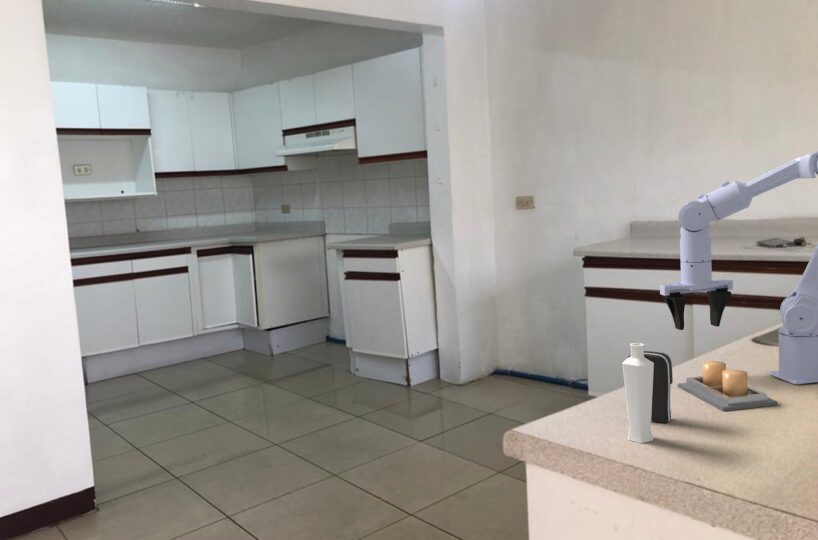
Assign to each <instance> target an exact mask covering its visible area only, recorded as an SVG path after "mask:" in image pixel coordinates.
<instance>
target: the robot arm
mask: <svg viewBox="0 0 818 540" xmlns="http://www.w3.org/2000/svg"><path fill="white" fill-rule="evenodd" d="M816 176H818V151H816V152H813V153H809V154H806V155H803V156H799V157H796V158H794V159H792V160H789V161H788V162H786V163H784V164H782V165H780V166H778V167H775V168H773V169H772V170H768V171H767V172H765V173H764V174H762V175H761V174H760V176H757V177H755V178H753V179H752V180H750V181H748V182H746V183H745V182H741V181H738V180H733V181H731V182H729V181H728V180H727V181H725V182H722V183H721V187H719V188H716V189H714V190H712V191H710V192H708V193H706V194H703V193H701V194H699V195H697V198H698V200H691V201H690V200H689V202H687V203H685V204H684V205H683V206H682V207H681V208H680V210H679V212H678V214H677V215H678V217H677V219H678V222H679V225H680V226H681V227H680V231H679V235H680V239H679V250H680V251H679V254H680V257H679V258H680V281H679V282H673V283H667V284H660V285H659V295H661V296H662V298H663V300H664V302H665V304H666V305H667V307H668V309H669V311H670V313H671V316H672V319H673V323H674V327H675V330H676V329H677V330H679V331H683V330H685V307H686V302H687V298H686V297H684V296H683V294H691V293H702V292H703V293H704V292H706V295H707V298H708V299H707V300H708V304H709V306H708V307H709V320H710V325H711V326H714V327H720V325H721V320H722V317H723V313H724V311H725V308H726V306H727V304H728V302H729V301H730V299H731V298H732V291H731V290H734V280H733V279H729V278H724V279H713V278H712V277H713V273H712V269H713V267H712V238H711V236H710V225H709V224H710V222H711V221H713V222H719V221H721V220H723V219H725V218H728V217H730V216H732V215H734V214H737V213H739V212H740V211H741V212H742V211H743V210H745V209H747V208H749V207H750V206H751V203H752V200H753V198H754V197H757V196H759V195H762V194H763V193H764V194H765V193H767V192H768V191H770V190H773V189H776V188H777V187H780V186H782V185H785V184H787V183H789V182H791V181H794V180H797V179H798V180H799V179H816V178H817V177H816ZM779 312H780V315H781V321H782V326H780V327H779V328H778V330H777V331H778V370H771V371H768V375H770V376H773V377H776V378H778V379H781V380H783V381H786V382H788V383H790V384H793V385H804V384H814V383H818V243H817V244H816V247H815V249H814V251H813V253H812V255H811V256H810V258H809V260H808V263H807V266H806V267H805V270H804V272H803V274H802V276H801V278H800V279H799V281H798V283H797V284H796V286H795V287H794V290H793V291H792V293H790V295H789V296H787V297H786V298H784V299H783V301H782V302H781V304H780V310H779Z"/></svg>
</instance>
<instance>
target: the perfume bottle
mask: <svg viewBox="0 0 818 540" xmlns="http://www.w3.org/2000/svg"><path fill="white" fill-rule="evenodd" d="M644 346H645V344H644V343H642V342H633V343H632V342H631V343H630V344H629V347H630V354H631V357H629V358H628V357H627V358H626V359H624V361H623V362H622V364H621V365H622V370H623V381H624V383H623V384H624V390H625V391H624V392H625V400H626V409H627V421H628V428H629V430H628V434H627V435H628V436H627V441H632V442H634V443H639V444H644V443H645V444H646V443H649V442H652V441H654V439H655V438H654V436H653V433H652V421H651V413H652V391H653V369H654V363H653V362H651V361H650V360H648V359H646V358H645V357H644V351H645V350H644V349H645V348H644Z"/></svg>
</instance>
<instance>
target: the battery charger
mask: <svg viewBox="0 0 818 540" xmlns="http://www.w3.org/2000/svg"><path fill="white" fill-rule="evenodd" d="M629 357H631V353H630V354H629V355H628V357H627V358H629ZM644 357H645V358H646V359H648V360H650V361H651V362H653V363H654V369H653V391H652V413H651V422H656V423H657V422H658V423H666V424H667V423H669V422H670V420H671V419H672V411H671V385H672V384H673V381H674V380H673V363H672V359H671V357H670V356H669V354H667V353H664V352H660V351H651V350H644Z"/></svg>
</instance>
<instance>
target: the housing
mask: <svg viewBox="0 0 818 540" xmlns="http://www.w3.org/2000/svg"><path fill="white" fill-rule="evenodd" d="M748 378H749V377H748V372H747V371H745V370H742V369H726V370H724V371H723V372H722V380H723V385H720V386H710V387H709V386H707V385H705V384H703V375H701V376H700V375H699V376H691V377H690V376H689V377H686V378H685V379H686V382H682V383H679V382H678V383H677V387H678V388H679V389H681V390H683V391H685V392H687V393H688V394H691V395H692V396H694V397H696V398H697V399H700V400H701V401H703V402H705V403H707V404H709V405H711V406H713V407H715V408H716V409H719V410H721V411H722V412H726V411H727V412H728V411H734V410H743V409H752V408H753V409H754V408H763V407H772V406H778V404H779V403H778V401H777V400H776V399H773V398H771V397H769V396H768V394H767V393H765V392H762V391H761V390H758V389H756V388H753V387H752V386H749V384H748V380H749V379H748Z"/></svg>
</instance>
